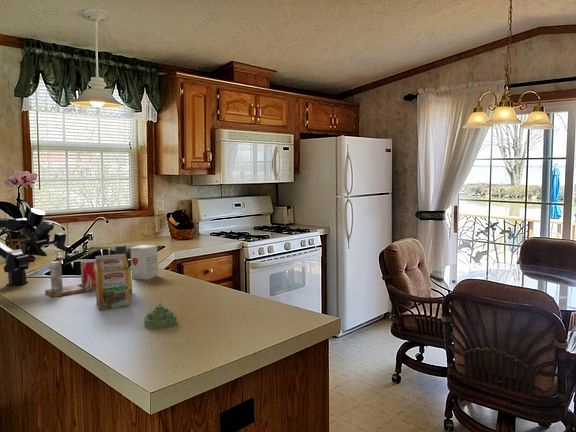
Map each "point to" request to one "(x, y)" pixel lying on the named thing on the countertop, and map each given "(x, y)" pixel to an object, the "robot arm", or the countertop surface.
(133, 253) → the supplement box
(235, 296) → the countertop surface
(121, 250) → the sauce bottle
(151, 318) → the decorative artifact
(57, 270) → the brown board
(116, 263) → the food package
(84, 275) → the soda can
